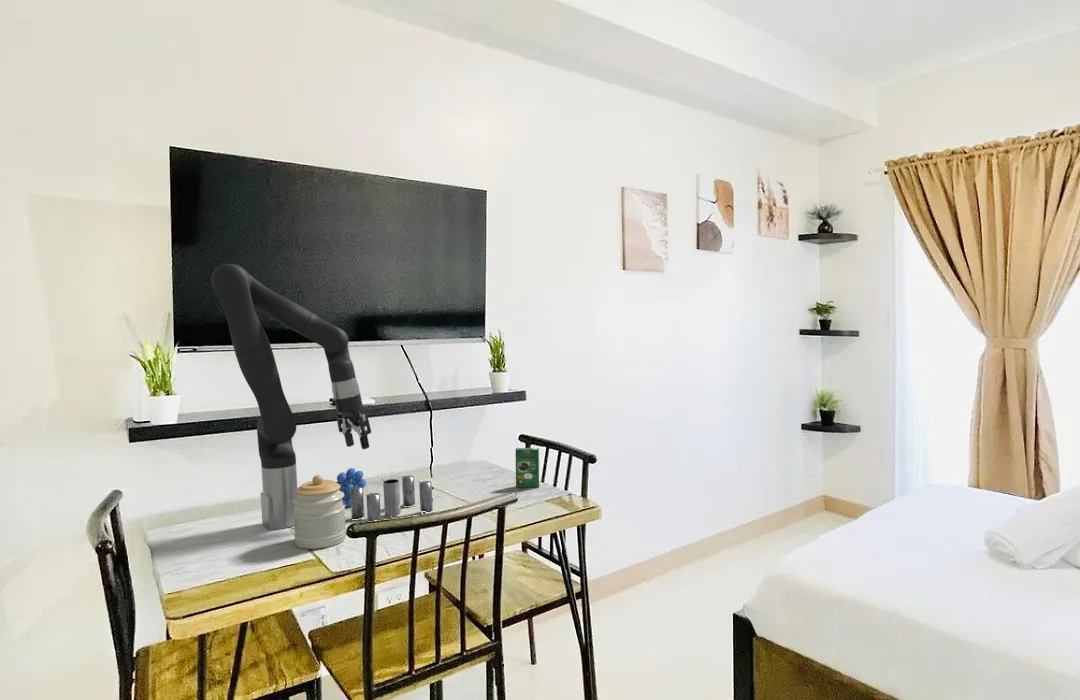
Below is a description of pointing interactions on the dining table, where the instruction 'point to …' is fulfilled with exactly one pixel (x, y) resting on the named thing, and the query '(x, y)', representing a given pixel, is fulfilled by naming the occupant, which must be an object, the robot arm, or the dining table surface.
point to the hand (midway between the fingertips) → (358, 447)
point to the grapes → (350, 483)
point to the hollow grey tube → (391, 498)
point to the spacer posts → (374, 499)
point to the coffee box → (527, 467)
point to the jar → (319, 514)
